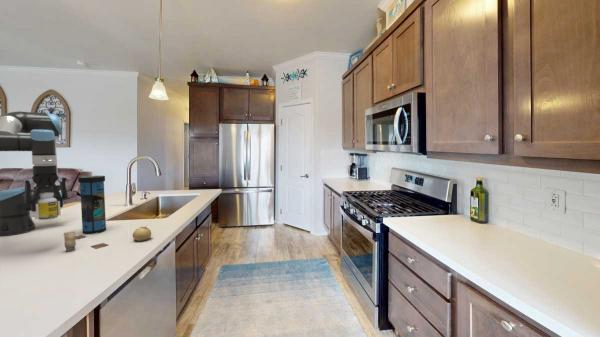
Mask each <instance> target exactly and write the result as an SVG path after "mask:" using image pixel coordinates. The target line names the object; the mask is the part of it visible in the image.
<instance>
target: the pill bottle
mask: <svg viewBox="0 0 600 337" xmlns="http://www.w3.org/2000/svg"><path fill="white" fill-rule="evenodd" d="M53 196H54V193H53V192H46V193H40V194H39V197H40V199H38V200H37V204H38V206H39V219H37V220H38V221H49V220H55V219H57V218H58V210H57V199H56V198H54V197H53Z"/></svg>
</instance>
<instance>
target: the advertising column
mask: <svg viewBox="0 0 600 337" xmlns="http://www.w3.org/2000/svg"><path fill="white" fill-rule="evenodd" d="M77 178H78V180H77V182H78V183H79V189H80V191H79V192H80V206H81V208H80V209H81V211H80V212H81V226H82V227H81V228H82V235H94V234H101V233H103V232H106V230H107V224H106V223H107V221H106V219H107V218H106V202H105V198H106V197H105V181H106V176H105V175H84V176H78V177H77Z"/></svg>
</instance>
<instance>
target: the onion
mask: <svg viewBox="0 0 600 337" xmlns="http://www.w3.org/2000/svg"><path fill="white" fill-rule="evenodd" d="M151 237H152V230H151V229H150V228H149V227H147V226H140V227H138V228H136V229H135V230H134V231H133V233H132V239H133V240H135V241H139V242H143V241H148V239H150V238H151Z"/></svg>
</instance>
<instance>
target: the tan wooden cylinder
mask: <svg viewBox="0 0 600 337" xmlns="http://www.w3.org/2000/svg"><path fill="white" fill-rule="evenodd" d="M63 235H64V236H63V237H64V248H65V252H67V253H68V252H73V251H75V250H76V246H77V245H76V244H77V243H76V240H75V236H76V232H75V231H74V230H73V231H67V232H64V234H63Z"/></svg>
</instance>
